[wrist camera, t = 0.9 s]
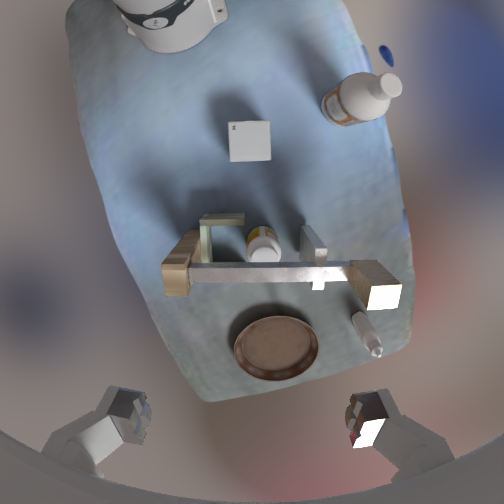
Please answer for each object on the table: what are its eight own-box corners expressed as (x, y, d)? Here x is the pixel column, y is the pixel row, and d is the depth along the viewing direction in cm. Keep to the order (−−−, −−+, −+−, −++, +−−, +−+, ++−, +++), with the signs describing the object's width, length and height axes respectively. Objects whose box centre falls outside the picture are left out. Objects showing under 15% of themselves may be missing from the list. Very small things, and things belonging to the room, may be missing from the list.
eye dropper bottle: (349, 333, 57) (366, 369, 46) (351, 311, 55) (371, 346, 44) (367, 330, 57) (387, 364, 45) (370, 308, 55) (392, 341, 44)
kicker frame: (187, 214, 48) (158, 242, 33) (244, 212, 48) (240, 241, 33) (192, 267, 52) (168, 314, 36) (246, 266, 52) (243, 315, 36)
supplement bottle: (248, 255, 51) (246, 277, 42) (246, 226, 49) (244, 243, 40) (278, 253, 51) (283, 276, 42) (277, 224, 49) (282, 241, 40)
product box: (232, 161, 46) (228, 162, 39) (230, 126, 44) (226, 120, 37) (269, 160, 45) (271, 160, 39) (267, 124, 43) (270, 119, 37)
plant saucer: (224, 318, 56) (222, 327, 53) (310, 299, 54) (313, 307, 51) (246, 378, 62) (246, 387, 59) (321, 363, 60) (323, 372, 57)
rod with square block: (198, 226, 48) (162, 276, 28) (348, 225, 48) (404, 272, 28) (200, 258, 50) (170, 324, 30) (345, 257, 50) (394, 318, 30)
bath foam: (313, 97, 42) (351, 63, 23) (347, 85, 41) (400, 51, 22) (331, 133, 44) (380, 121, 25) (364, 120, 43) (426, 105, 24)
